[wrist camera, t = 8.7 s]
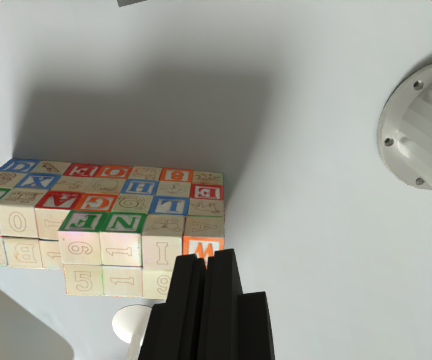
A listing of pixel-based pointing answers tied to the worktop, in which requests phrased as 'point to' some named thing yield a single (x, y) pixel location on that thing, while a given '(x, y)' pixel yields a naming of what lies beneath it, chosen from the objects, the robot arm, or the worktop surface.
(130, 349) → the champagne flute
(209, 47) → the worktop surface
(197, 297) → the robot arm
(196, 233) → the stack of blocks
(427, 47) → the worktop surface
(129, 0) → the lever
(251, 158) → the worktop surface
